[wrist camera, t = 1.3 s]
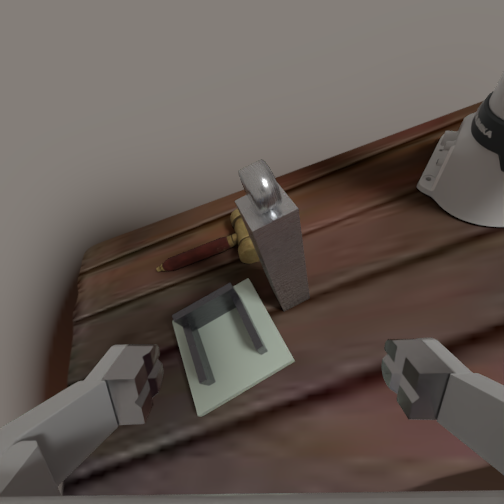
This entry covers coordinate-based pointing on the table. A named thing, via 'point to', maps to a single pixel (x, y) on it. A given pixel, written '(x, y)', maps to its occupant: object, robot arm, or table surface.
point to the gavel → (217, 248)
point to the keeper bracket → (228, 345)
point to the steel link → (274, 233)
